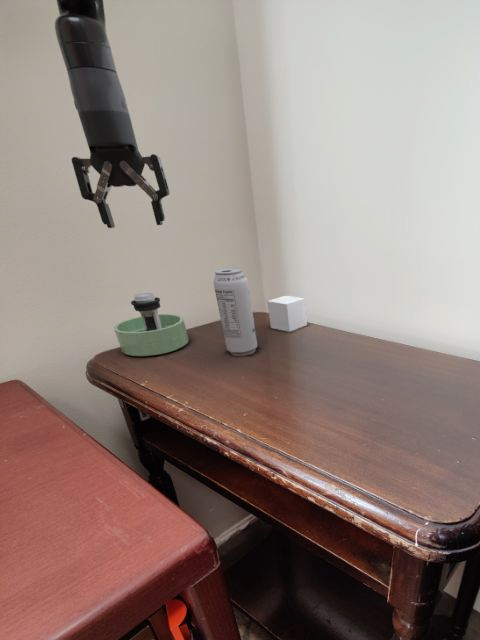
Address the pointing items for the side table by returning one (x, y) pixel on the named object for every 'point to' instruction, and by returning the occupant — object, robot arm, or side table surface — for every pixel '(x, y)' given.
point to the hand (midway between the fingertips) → (135, 226)
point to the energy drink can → (235, 311)
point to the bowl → (151, 336)
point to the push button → (148, 310)
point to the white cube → (287, 313)
